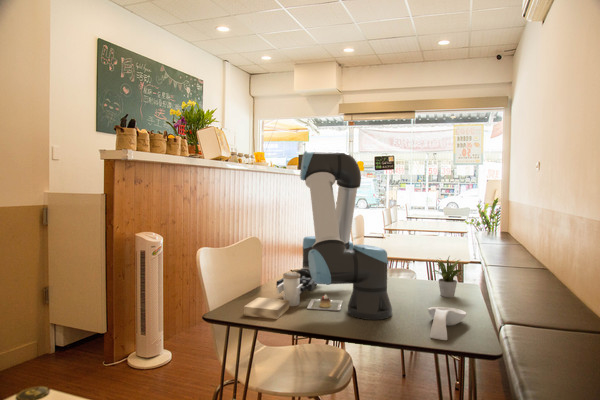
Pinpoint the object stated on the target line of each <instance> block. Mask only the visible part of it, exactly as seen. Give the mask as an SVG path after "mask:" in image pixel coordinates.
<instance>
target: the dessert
mask: <svg viewBox="0 0 600 400" xmlns="http://www.w3.org/2000/svg"><path fill="white" fill-rule="evenodd" d="M315 302H319V305H318V306H319V308H317V307H312V306H313V305H314V303H315ZM332 303H337V304H338V306H337V309H334V308H333V309H332V308H331V307H332ZM342 305H343V300H339V299H338V300H337V299H330V297H328V295H327V294H326V293H325V294H323V295H322V297H321V298H311V299H310V301H309V302H308V305H307V307H306V309H308V310H320V311H334V312H335V311H336V312H340V311H341V309H342V307H343V306H342Z"/></svg>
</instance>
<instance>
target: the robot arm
mask: <svg viewBox="0 0 600 400" xmlns="http://www.w3.org/2000/svg"><path fill="white" fill-rule="evenodd" d="M299 178H300V180H301V181H304V182H305V186H306V187H307V188H309V189H310V190H309V192H310V200H311V201H310V202H311V209H312V210H311V211H312V219H313V228H314V229H313V230H314V235H313V236H312V235H310V236H309V235H307V236H304V237H303V241H302V268H300V269H299V270H297V271H296V272H295V273H299V274H300V285H299V286H298V287H296V296H298V295H299V294H300V295H301V293H304V292H307V291H308V292H312V291H313V290H314V288H315V287H316V286H317V285H327V286H329V285H349V284H350V285H352V291H351V295H350V297H349V300H348V304H347V313H348V314H349V315H350V316H352V317H355V318H358V319H362V320H372V321H373V320H375V321H376V320H378V321H379V320H385V319H388V318H390V317H392V316H393V306H392V304H391V300H390V298H389V297H390V296H389V293H388V264H389V262H388V252H387V251H386V249H384V248H382V247H378V246H374V245H369V244H368V245H367V244H357V243H355V244H354V242H353V241H352V240H350V239H351V233H352V228H353V227H352V226H353V219H354V211H355V205H356V198H357V191H358V188H360V187H361V183H362V173H361V170H360V166H359V164H358V162H357V160H356V159H355V158H354V156H352V155H351V154H350V153H348V152H346V151H343V150H316V149H314V150H305V151H304V152H303V155H302V157H301V165H300V175H299ZM335 183H336V184H337V186H338V189H337V197H336V203H335V195H334V189H333V188H334V187H333V185H334V184H335ZM283 284H284V278H283V277H282V278H280V279H278V280H277V281H276V294H277V295H279V294H280V293H283Z"/></svg>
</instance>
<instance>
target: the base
mask: <svg viewBox="0 0 600 400" xmlns="http://www.w3.org/2000/svg"><path fill="white" fill-rule="evenodd" d="M289 309H290V306H289V300H283V299H278V298H269V297H256V298H255V299H253V300H252V301H250V302H248V303H247V304H246V305H244V306H243V316H244V317H245V316H247V317H255V318H256V317H257V318H264V319H272V320H273V319H274V320H278V319H279V318H280V317H282V315H284V314H285V313H286V312H287V311H288V310H289Z"/></svg>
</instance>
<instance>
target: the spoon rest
mask: <svg viewBox="0 0 600 400" xmlns="http://www.w3.org/2000/svg"><path fill="white" fill-rule="evenodd" d="M427 312H428V314H429V316H431V318H432V320H433V321H432V324H431V328H430V333H429V338H431V339H435V340H441V341H447V340H448V331H447V326H456V325H457V324H459V323H461V322H462V321H463V320H464V319H465V318H466V316H467V312H466V311H464V310H462V309H458V308H454V307H446V306H432V307H427Z"/></svg>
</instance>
